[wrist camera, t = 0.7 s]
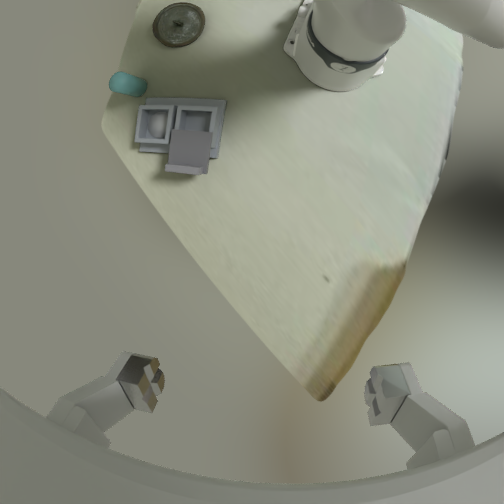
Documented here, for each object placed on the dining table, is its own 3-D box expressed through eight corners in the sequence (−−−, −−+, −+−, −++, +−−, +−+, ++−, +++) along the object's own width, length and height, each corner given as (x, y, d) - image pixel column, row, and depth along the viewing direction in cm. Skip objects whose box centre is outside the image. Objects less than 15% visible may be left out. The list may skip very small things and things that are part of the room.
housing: (142, 150, 48) (131, 151, 45) (149, 98, 44) (138, 95, 40) (217, 157, 48) (212, 158, 44) (226, 101, 43) (221, 97, 40)
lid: (199, 2, 35) (192, -9, 31) (214, 34, 38) (207, 24, 34) (153, 24, 38) (143, 16, 33) (165, 56, 41) (154, 49, 36)
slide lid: (169, 169, 45) (161, 170, 42) (173, 129, 42) (166, 128, 39) (207, 173, 45) (201, 175, 42) (213, 132, 42) (207, 131, 39)
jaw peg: (132, 79, 43) (111, 72, 35) (148, 78, 43) (128, 70, 35) (129, 97, 44) (107, 92, 37) (145, 96, 44) (124, 90, 37)
